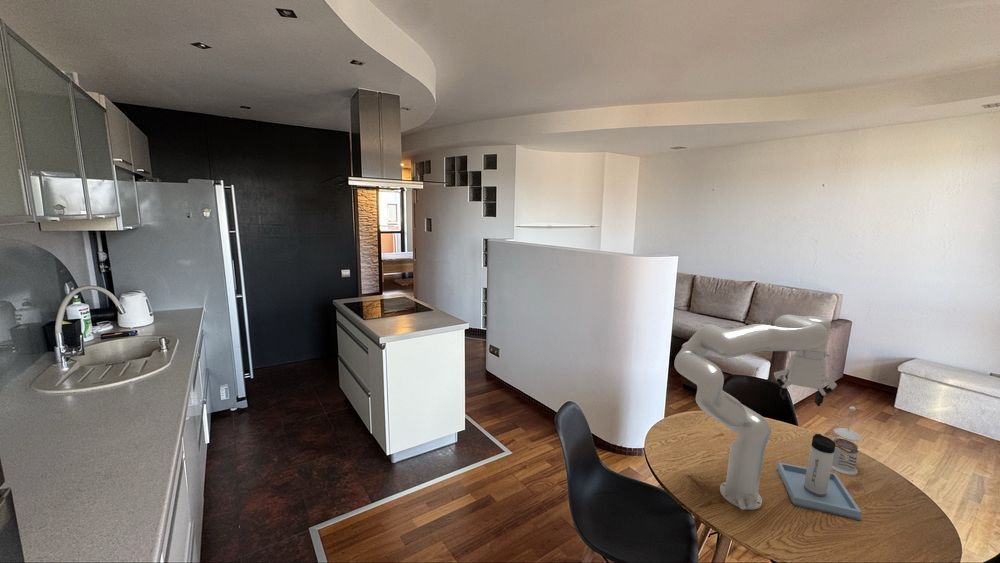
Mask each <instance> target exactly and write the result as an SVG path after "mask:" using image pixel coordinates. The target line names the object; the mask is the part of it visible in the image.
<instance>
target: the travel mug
mask: <svg viewBox="0 0 1000 563" xmlns="http://www.w3.org/2000/svg"><path fill="white" fill-rule="evenodd" d="M833 440H834V439H831V438H829V437H828V436H825V435H822V434H821V433H815V434H814V435H813V436H812V440H811V444H810V450H809V454H808V455H809V456H808V460H807V466H806V468H807V471H806V477H805V483H804V488H805V490H806V491H808V492H809V493H811V494H813V495H815V496H819V497H824V496H826V494H827V488H828V483H829V478H830V473H832V472H831V471H832V462H833V457H834V452H835V448H836V447H835V445H836V444H835V443H834V441H833Z"/></svg>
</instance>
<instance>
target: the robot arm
mask: <svg viewBox="0 0 1000 563" xmlns="http://www.w3.org/2000/svg"><path fill="white" fill-rule="evenodd" d="M831 326H832V323H831V320H829V319H828V318H825V317H822V316H815V315H805V316H801V315H796V314H795V315H794V314H782V315H781V316H778V317H777V318H776V320H775V321H774V324H773V325H770V324H763V323H751V324H748V325H744V326H740V327H739V326H738V327H734V328H730V329H727V328H726V329H725V328H724V327H720V326H718V325H717V324H710V323H709V324H705V325H703V326H702V327H700V328H699V329H698V330H697V331H696V332H695V333H693V335H692V336H691V337H690V338H689V339H688V341H687V342H686V343H685V344H684V346H683V347H682V348H681V349H680V350H679V352H678V353H677V354H676V356H675V359H674V363H673V364H674V368H675V370H676V372H677V373H679V374H680V375H681V376H682V377H684V378H686V379H687V380H688V381H690V382H691V383H693V384H694V385H696V387H697V388H696V394H695V402H696V404H697V406H698V407H699V408H700V409H701V410H702V411H703V412H705V414H707V415H708V416H709V417H711V418H713V419H714V420H716V421H717V422H719V423H721V424H722V425H724V426H725V427H727V428H728V429H729V430H731V431H732V432H733V433H735V434H736V435H737V438H736V439H735V440H734V441H732V443H731V444H730V448H729V456H728V462H727V470H726V478H725V481H724V482H722V483H721V484H720V486H719V492H720V495H721V497H723V499H724V500H726V502H728V503H730V504H732V505H733V506H736V507H737V508H739V509H741V510H743V511H744V510H749V511H750V510H751V511H752V510H757V509H760V508H761V507H762V506H763V505H762V504H763V498H762V497H761V495H760V494H759V490H760V489H759V487H760V482H761V475H762V468H763V461H764V456H765V450H766V447H767V444H768V441H769V439H770V438H771V435H772V427H771V424H770V423H769V421H768V420H767V419H766V418H765V417H764V416H762V415H761V414H759V413H757V412H756V411H754V410H753V409H751V408H750V407H748V406H746V405H744V404H742V403H741V401H739V400H738V399H737V398H736V397H734V396H732V395H731V394H730V393H727V392H726V391H724V390H723V387H724V381H725V377H724V373H723V371H722V370H721V368H720V367H719V366H718V365H717V364H715V363H714V362H712V361H710V360H709V359H707V358H706V357H705V356H706V355H707V353H708V352H711V353H712V354H714V355H716V356H719V357H721V358H725V359H733V358H737V357H741V356H745V355H749V354H753V353H756V352H760V351H761V352H762V351H767V352H769V351H770V352H794V353H791V355H790V357H789V358H788V359H789V360H788V363H787V366H786V368H785V369H783V370H779V371H775V372H773V375H774V378H775V380H776V382H777V383H778V384H779V385H780V389H779V396H780V398H781V399H782V400H783V401H784V400H786V398H787V396H788V395H787V394H788V391H789V390H788V387H790V386H791V385H794V386H799V387H804V388H811V389H817V391H816V392H815V397H814V403H815V405H816V406H817V407H821V405H822V404H823V402H824V397H825V396H826V395H827V394H829V393H831V392H832V391H833V390H834V389H835V388H837V386H838V384H837V383H836V382H835V381H834V380H831V379H830V378H828V377H827V376H826V373H827V372H826V371H827V361H826V360H827V359H825V358H827V357H828V358H830V356H831V353H830V352H828V351H826V350H827V345H828V340H829V337H830V332H831V331H830V330H831V328H832V327H831ZM781 376H784V378H785V379H783V380H782V379H781ZM825 383H827V384H828V385H827V386H825Z"/></svg>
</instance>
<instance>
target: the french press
mask: <svg viewBox="0 0 1000 563" xmlns="http://www.w3.org/2000/svg"><path fill="white" fill-rule="evenodd" d="M848 410H849V411H850V418H849V422H848V427H847V428H846V427H837V428H834V429H833V432H834V434H835V435H836V436H838V437H836V436H835V435H834V434H830V435H828V436H827V437H828V438H829V437H831V438H830V439H831V440H833V441H834V443H835V452H834V457H833V462H832V468H831V470H834V471H836V472H839V473H842V474H845V475H849V476H850V475H856V474H858V472H859V470H858V469H857V468H856V464H857V459H858V454H859V450H858V449H859V447H858V445H857V444H856V443H854V442H857V441H858V442H859V441H861V440H862V436H861V435H860V434H858V433H857V432H856V431H854V430H852V429H850V424H851V419H852V414H853V412H856V410H857V409H856V407H855V406H849V408H848ZM839 437H840V438H839Z"/></svg>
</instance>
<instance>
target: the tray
mask: <svg viewBox="0 0 1000 563" xmlns="http://www.w3.org/2000/svg"><path fill="white" fill-rule="evenodd" d="M776 471H777V472H778V475H779V478H780V479H781V481H782V483H783V484H782V485H783V486H784V488H785V490H786V492H787V494H788V496H789V498H790V501H791V503H792V505H793V506H794V507H800V508H804V509H809V510H813V511H818V512H821V513H827V514H831V515H835V516H838V517H839V516H840V517H843V518H848V519H852V520H857V521H861V520H862V519H861V518H862V510H861V509H860V507H859V506H858V504H857V502H856V501H855V500H854V498H853V497H852V495H851V493H850V492H849V491H848V490H847V488H846V486H845V485H844V484H843V482H842V480H841V478H840V477H839V475H837V473H836V472H831V473H830V478H829V483H828V488H827V494H826V496H824V497H819V496H815V495H813V494H811V493H809V492H808V491H806V490H805V488H804V483H805V477H806V471H807V466H806V467H805V466H800V465H797V464H789V463H786V462H780V461H778V462H777V465H776Z"/></svg>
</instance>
